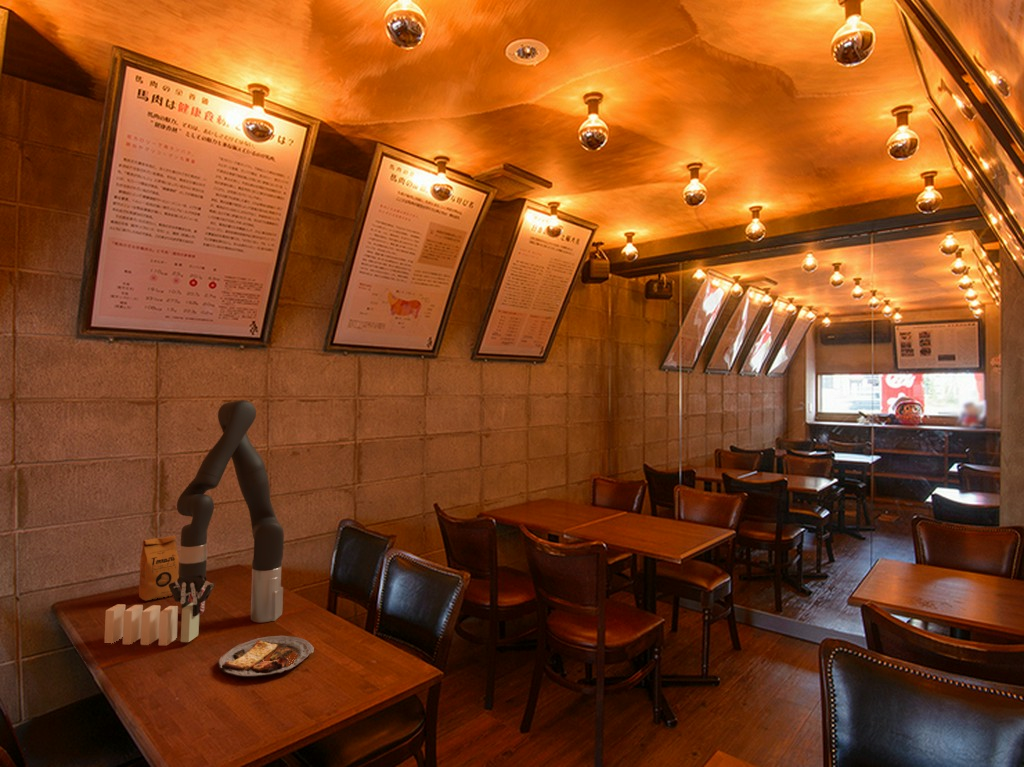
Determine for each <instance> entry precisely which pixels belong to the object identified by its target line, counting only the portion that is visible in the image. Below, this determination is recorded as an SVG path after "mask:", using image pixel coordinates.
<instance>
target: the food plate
mask: <svg viewBox="0 0 1024 767" xmlns="http://www.w3.org/2000/svg"><path fill="white" fill-rule="evenodd" d="M278 647H283V648H278ZM276 648H277V649H276ZM289 648H290V649H289ZM291 649H293V650H295V651H294V653H296V655H297V654H298V657H297V659H295V660H294V663H293V664H291V665H290V666H287V667H286V664H287V662H288V661H289V659H288V658H286V657H284V656H286V655H287V654H288V655H290V654H292V653H293V650H291ZM314 649H315V647H314V646H313V645H312V643H310V641H308V640H306V639H304V638H301V637H298V636H290V635H289V636H287V635H275V636H274V635H272V636H265V637H264V636H263V637H260V638H255V639H251V640H249V641H246V642H243V643H239V644H237V645H235V646H233V647H232V648H231V649H230V650H228V651H227V652H226V653H224V654H223V655H222V656H220V658H219V659H218V662H217V664H218V668H219V670H220V671H222V672H223V673H224V674H228V675H232V676H236V677H237V676H238V677H241V678H244V677H245V678H251V677H252V678H253V677H254V678H255V677H260V676H261V677H262V676H266V677H269V676H271V675H275V674H276V675H278V674H282V673H283V672H284V671H291V669H293V668H294V667H297V666H298V665H299V664H301V662H303V661H304V660H305V659H307V658H308V656H309V655H310V654H313V653H314ZM275 650H276V651H275ZM273 651H275V652H274V653H273V654H272V656H271V657H270V661H264V660H265V658H266V657H268V655H270V653H272V652H273ZM291 652H292V653H291ZM289 653H290V654H289ZM288 655H287V656H288ZM261 661H263V662H261ZM289 662H290V661H289Z"/></svg>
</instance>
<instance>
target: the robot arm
mask: <svg viewBox="0 0 1024 767" xmlns="http://www.w3.org/2000/svg"><path fill="white" fill-rule="evenodd" d="M256 416H257V410H256V406H254V404H253V403H252V402H251V401H248V400H241V399H240V400H235V401H231V402H230V401H227V402H226V403H224V404H222V405H220V407H219V408H218V412H217V418H218V423H219V426H220V427H221V430H222V435H221V436H220V438H219V439H218V441H217V442H216V443H215V444H214V445H213V447H212V448H211V449H210V450H209V452H208V453H207V454H206V456H204V459H203V460H202V462H201V464H200V466H199V468H198V470H197V473H196V475H195V477H194V478H193V479H192V480H191V481H190V483H189V484H188V485H187V486H186V487H185V489H183V491H182V492H181V494H180V495H179V497H178V499H177V503H176V509H177V512H178V514H179V515H182V516H183V517H191V518H192V520H191V522H190V523H189V524H185V525H184V526H183V527H182V528H181V532H180V546H179V553H178V560H179V569H178V575H179V578H178V579H177V581H174V582H172V583H170V584H169V588H170V590H171V593H172V595H173V596H172V598H173V600H174V602H178V603H180V606H181V604H182V606H181V609H180V612H181V613H182V608H184V607H186V606H187V605H189V603H190V602H188V601H189V597H190V594H191V593H192V597H193V616H194V617H195V616H197V615H198V614H199V613H200V608H201V603H202V602H204V601H205V602H206V601H207V600H208V598H209V597H210V595H211V593H212V591H213V590H214V589H215V588H214V587H215V585H216V583H215V582H210V581H208V579H207V576H206V574H207V568H208V566H207V565H208V563H207V562H208V546H207V545H208V544H207V543H208V542H207V540H208V530H209V529H208V528H209V526H210V522H211V519H212V516H213V514H214V509H215V503H214V502H215V501H214V500H213V498H212V497H211V496H210V495H208V494H205V493H207V491H209V490H214V489H216V488H217V487H218V486H219V484H220V482H221V479H222V478H223V475H224V473H225V471H226V468H227V466H228V464H229V463H230V461H231V460H232V463H233V466H234V470H235V475H236V479H237V482H238V485H239V489H240V492H241V495H242V497H243V499H244V501H245V503H246V506H247V509H248V512H249V519H250V522H251V523H250V524H251V532H252V534H251V535H252V537H253V538H252V539H253V558H252V563H251V564H252V565H251V566H252V569H251V589H250V590H251V591H250V592H251V598H250V620H251V621H252V622H254V623H267V622H275V621H277V619H278V618H280V617H281V616H282V615H283V604H284V602H283V601H284V600H283V599H284V598H283V597H284V596H283V595H284V587H283V586H282V565H283V564H282V563H283V562H282V561H283V557H284V541H285V539H284V538H285V536H284V535H285V533H284V529H283V527H282V525H281V524H280V522H279V520H278V518H277V516H276V514H275V511H274V508H273V505H272V500H271V491H270V490H271V488H270V482H269V476H268V472H267V468H266V465H265V462H264V460H263V458H262V456H261V455H260V454H259V452H258V451H257V449H255V447H254V446H253V444H252V442H251V441H250V438H249V435H248V431H249V429H250V428H251V426H252V425H253V423H254V421H255V419H256ZM204 585H205V587H204V589H205V591H204V592H203V594H202V587H203V586H204ZM179 586H180V587H179ZM201 594H202V596H201Z"/></svg>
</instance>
